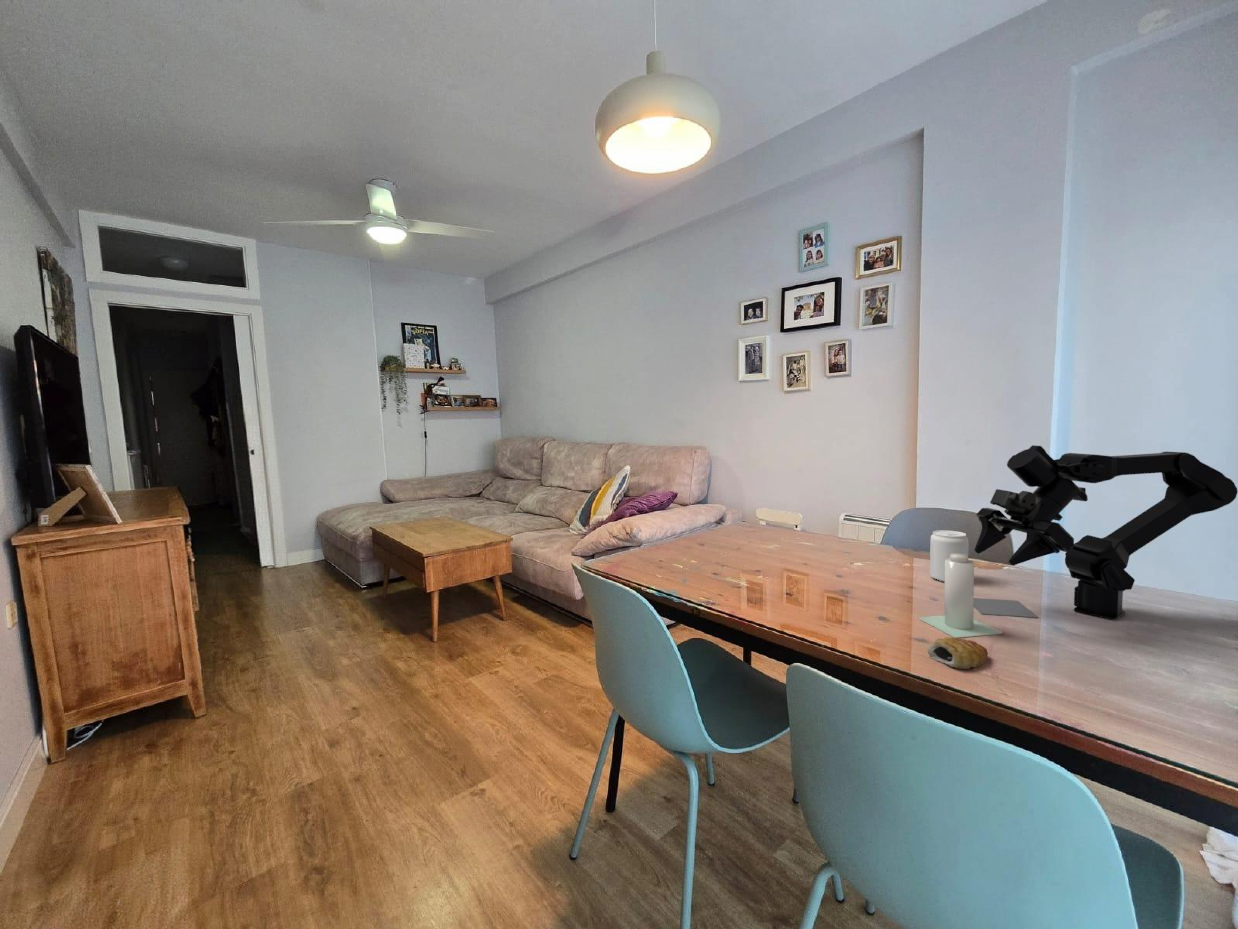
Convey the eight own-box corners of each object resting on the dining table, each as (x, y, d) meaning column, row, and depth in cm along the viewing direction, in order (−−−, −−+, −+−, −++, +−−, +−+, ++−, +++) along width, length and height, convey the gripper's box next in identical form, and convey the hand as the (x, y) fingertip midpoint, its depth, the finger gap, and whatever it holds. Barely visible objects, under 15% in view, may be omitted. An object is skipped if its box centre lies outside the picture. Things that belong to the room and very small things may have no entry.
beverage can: (923, 577, 132) (923, 532, 131) (943, 572, 135) (943, 528, 134) (954, 586, 125) (955, 538, 124) (975, 580, 128) (975, 534, 127)
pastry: (962, 647, 93) (962, 627, 93) (1000, 663, 87) (1001, 642, 86) (923, 657, 90) (924, 636, 89) (960, 674, 83) (961, 652, 83)
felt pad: (1017, 601, 113) (1017, 600, 113) (1038, 618, 104) (1038, 617, 104) (965, 598, 116) (965, 597, 116) (981, 614, 107) (981, 613, 107)
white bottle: (973, 622, 102) (973, 553, 101) (973, 631, 98) (974, 559, 97) (944, 618, 105) (945, 551, 104) (944, 626, 101) (944, 556, 100)
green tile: (961, 614, 107) (961, 613, 107) (1002, 633, 97) (1002, 632, 97) (918, 618, 106) (918, 617, 106) (955, 638, 96) (955, 637, 96)
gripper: (985, 471, 112) (936, 522, 113) (1061, 480, 94) (1001, 542, 94) (1019, 505, 113) (970, 555, 114) (1101, 521, 95) (1041, 581, 95)
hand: (992, 557), depth 104 cm, fingers open, 9 cm apart
